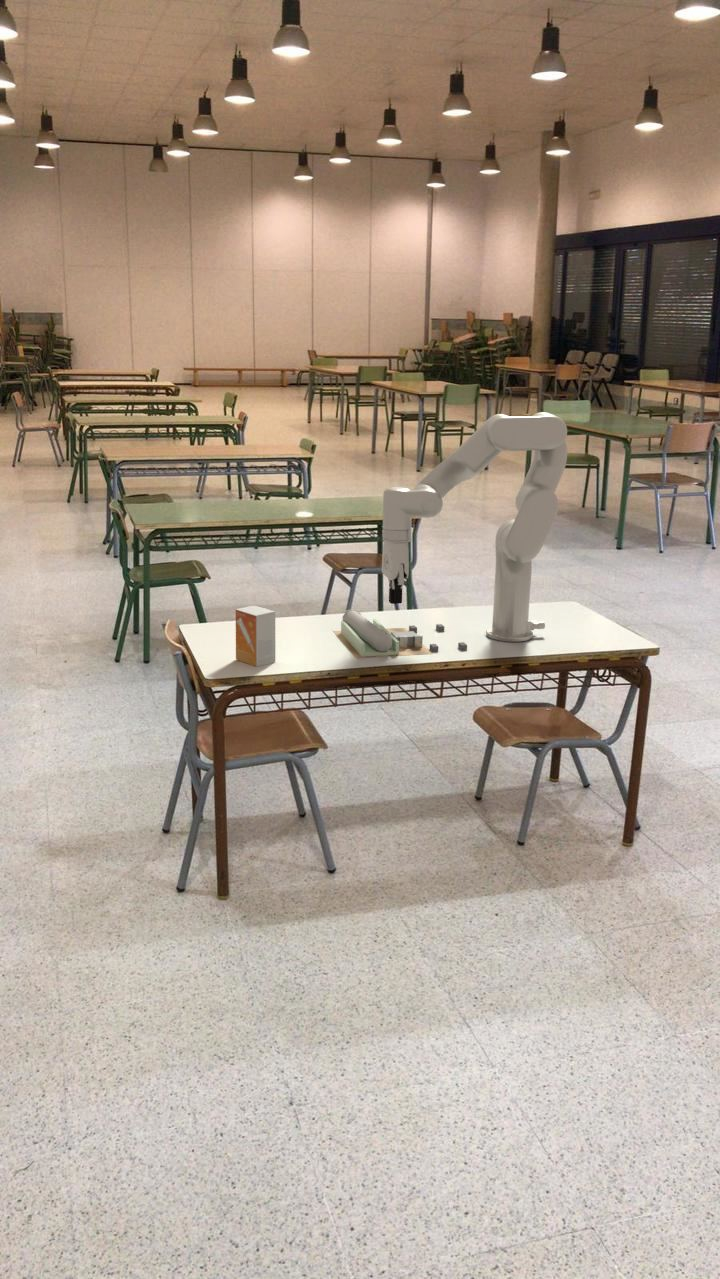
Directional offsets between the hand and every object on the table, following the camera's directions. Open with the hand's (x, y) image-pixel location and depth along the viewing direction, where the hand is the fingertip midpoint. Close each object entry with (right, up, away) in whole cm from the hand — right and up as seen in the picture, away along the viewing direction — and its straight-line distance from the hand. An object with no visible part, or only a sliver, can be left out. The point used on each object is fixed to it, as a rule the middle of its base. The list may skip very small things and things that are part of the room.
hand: (395, 602), depth 290 cm
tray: (-7, -11, -9) cm, 16 cm away
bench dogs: (+3, -12, -12) cm, 17 cm away
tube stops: (+11, -11, -5) cm, 16 cm away
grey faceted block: (+2, -11, -9) cm, 14 cm away
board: (-4, -12, -8) cm, 15 cm away
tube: (-7, -10, -10) cm, 16 cm away
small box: (-35, -15, -22) cm, 44 cm away
